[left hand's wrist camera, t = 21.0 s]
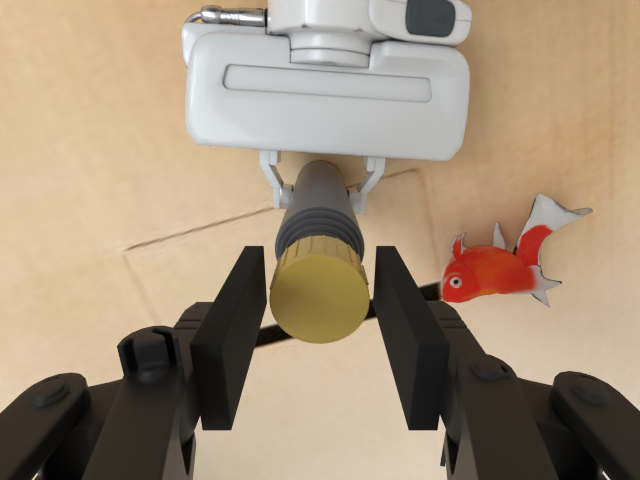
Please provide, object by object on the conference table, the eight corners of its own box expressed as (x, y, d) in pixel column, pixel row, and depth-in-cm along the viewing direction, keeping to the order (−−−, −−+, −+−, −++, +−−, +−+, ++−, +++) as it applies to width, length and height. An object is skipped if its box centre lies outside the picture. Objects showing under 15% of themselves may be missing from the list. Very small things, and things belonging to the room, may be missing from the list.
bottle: (324, 150, 33) (331, 214, 12) (351, 187, 34) (401, 303, 13) (287, 179, 34) (235, 284, 13) (315, 214, 35) (309, 361, 14)
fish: (419, 199, 30) (521, 267, 23) (540, 154, 35) (653, 198, 28) (406, 285, 36) (481, 358, 29) (509, 237, 42) (594, 290, 35)
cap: (350, 321, 15) (355, 353, 13) (267, 303, 15) (259, 333, 13) (375, 245, 14) (384, 268, 12) (285, 224, 14) (279, 244, 12)
